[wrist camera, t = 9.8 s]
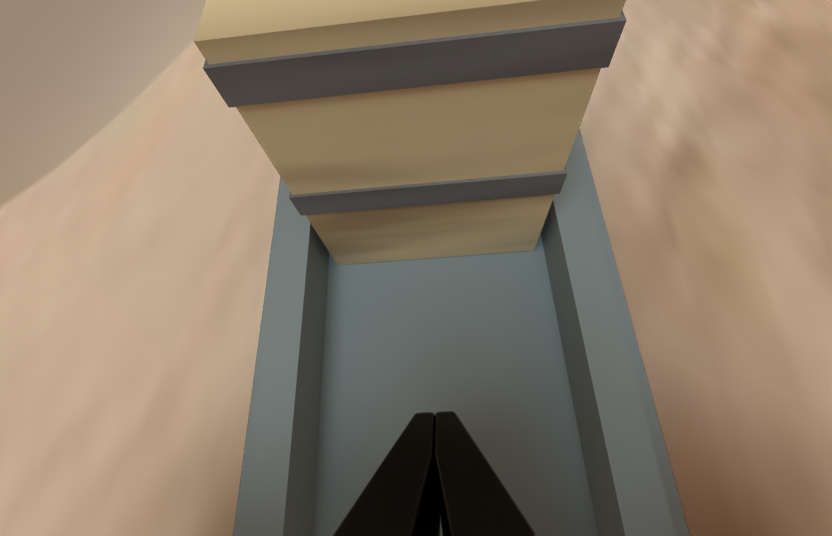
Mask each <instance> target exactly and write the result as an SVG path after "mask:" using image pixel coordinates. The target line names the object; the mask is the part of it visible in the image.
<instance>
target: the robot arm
mask: <svg viewBox="0 0 832 536" xmlns="http://www.w3.org/2000/svg"><path fill="white" fill-rule="evenodd" d="M440 518H441V528H442V536H536V534H535V532H534V530H533V529H532V527H531V526H530V524H529V523H528V521H527V520H526V518H525V517H524V515H523V514H522V512H521V511H520V509H519V508H518V506H517V505H516V503H515V502H514V500H513V499H512V497H511V496H510V494H509V493H508V491H507V490H506V488H505V487H504V485H503V484H502V482H501V481H500V479H499V478H498V476H497V474H496V473H495V471H494V470H493V468H492V467H491V465H490V464H489V462H488V461H487V459H486V458H485V456H484V455H483V453H482V452H481V450H480V449H479V447H478V446H477V444H476V443H475V441H474V440H473V438H472V437H471V435H470V434H469V432H468V431H467V429H466V428H465V426H464V425H463V423H462V422H461V420H460V419H459V417H458V416H457V414H456V413H455V412H454V411H441V412H437V413H436V414H434V413H433V412H419V413H416V414H414V416H413V417H412V419H411V420H410V422H409V423H408V425H407V426H406V428H405V429H404V430H403V432H402V433H401V435H400V436H399V438H398V439H397V441H396V442H395V444H394V445H393V447H392V448H391V450H390V451H389V453H388V454H387V456H386V457H385V459H384V460H383V462H382V463H381V465H380V466H379V467H378V469H377V470H376V472H375V473H374V475H373V476H372V478H371V479H370V481H369V482H368V484H367V485H366V487H365V488H364V490H363V491H362V493H361V494H360V496H359V497H358V498H357V500H356V501H355V503H354V504H353V506H352V507H351V509H350V510H349V512H348V513H347V515H346V516H345V518H344V519H343V521H342V522H341V524H340V525H339V527H338V528H337V530H336V531H335V532H334V534H333V535H332V536H440Z"/></svg>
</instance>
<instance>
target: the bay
mask: <svg viewBox="0 0 832 536" xmlns="http://www.w3.org/2000/svg"><path fill="white" fill-rule="evenodd" d="M566 169H567V176H566V179H565V181H564V184H563V186H562V189H561V192H560V194H555V195H554V198H553V200H552V203H551V206H550V208H549V211H548V214H547V217H546V219H545V222H544V225H543V228H542V230H541V233H540V236H539V238H538V241H537V244H536V247H535V249H534V251H521V252H507V253H494V254H480V255H467V256H454V257H440V258H427V259H414V260H400V261H387V262H373V263H360V264H347V265H337V263H336V262H335V260H334V259H333V257H332V256H331V254H330V252H329V251H328V249H327V248H326V246H325V245H324V243H323V242H322V240H321V238H320V237H319V235H318V234H317V232H316V231H315V229H314V228H313V226H312V224H311V223H310V221H309V220H308V218H307V217H306V215H303V216H301V215H300V214H299V212H298V211H297V209H296V208H295V206H294V205H293V203H292V202H291V200H290V199H289V193H290V190H289V189H288V187H287V185H286V184H285V182H284V181H283V179H282V178H281V176H280V184H279V191H278V199H277V206H276V214H275V222H274V229H273V237H272V244H271V252H270V259H269V267H268V274H267V282H266V290H265V297H264V305H263V312H262V320H261V327H260V335H259V343H258V350H257V358H256V365H255V373H254V380H253V388H252V395H251V403H250V411H249V418H248V426H247V433H246V441H245V448H244V456H243V463H242V471H241V479H240V486H239V494H238V501H237V509H236V516H235V524H234V532H233V536H332V535H333V534H334V532H335V531H336V530H337V528H338V527H339V525H340V524H341V522H342V521H343V519H344V518H345V516H346V515H347V513H348V512H349V510H350V509H351V507H352V506H353V504H354V503H355V501H356V500H357V498H358V497H359V496H360V494H361V493H362V491H363V490H364V488H365V487H366V485H367V484H368V482H369V481H370V479H371V478H372V476H373V475H374V473H375V472H376V470H377V469H378V467H379V466H380V465H381V463H382V462H383V460H384V459H385V457H386V456H387V454H388V453H389V451H390V450H391V448H392V447H393V445H394V444H395V442H396V441H397V439H398V438H399V436H400V435H401V433H402V432H403V430H404V429H405V428H406V426H407V425H408V423H409V422H410V420H411V419H412V417H413V416H414V414H416V413H419V412H433V413H434V414H436V413H437V412H441V411H454V412H455V413H456V414H457V416H458V417H459V419H460V420H461V422H462V423H463V425H464V426H465V428H466V429H467V431H468V432H469V434H470V435H471V437H472V438H473V440H474V441H475V443H476V444H477V446H478V447H479V449H480V450H481V452H482V453H483V455H484V456H485V458H486V459H487V461H488V462H489V464H490V465H491V467H492V468H493V470H494V471H495V473H496V474H497V476H498V478H499V479H500V481H501V482H502V484H503V485H504V487H505V488H506V490H507V491H508V493H509V494H510V496H511V497H512V499H513V500H514V502H515V503H516V505H517V506H518V508H519V509H520V511H521V512H522V514H523V515H524V517H525V518H526V520H527V521H528V523H529V524H530V526H531V527H532V529H533V530H534V532H535V534H536V536H690V534H689V530H688V526H687V523H686V519H685V515H684V512H683V508H682V504H681V501H680V497H679V493H678V490H677V486H676V482H675V479H674V475H673V471H672V468H671V464H670V460H669V457H668V453H667V449H666V446H665V442H664V438H663V435H662V431H661V427H660V424H659V420H658V416H657V412H656V409H655V405H654V401H653V398H652V394H651V390H650V387H649V383H648V379H647V376H646V372H645V368H644V365H643V361H642V357H641V354H640V350H639V346H638V343H637V339H636V335H635V332H634V328H633V324H632V321H631V317H630V313H629V310H628V306H627V302H626V299H625V295H624V291H623V287H622V284H621V280H620V276H619V273H618V269H617V265H616V262H615V258H614V254H613V251H612V247H611V243H610V240H609V236H608V232H607V229H606V225H605V221H604V218H603V214H602V210H601V207H600V203H599V199H598V196H597V192H596V188H595V185H594V181H593V177H592V174H591V170H590V166H589V162H588V159H587V155H586V151H585V148H584V144H583V140H582V137H581V133H580V129H578V132H577V135H576V138H575V140H574V143H573V146H572V148H571V151H570V154H569V157H568V159H567V162H566ZM440 536H442V528H441V518H440Z"/></svg>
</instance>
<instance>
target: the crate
mask: <svg viewBox="0 0 832 536" xmlns="http://www.w3.org/2000/svg"><path fill="white" fill-rule="evenodd" d="M625 1H626V0H206V3H205V6H204V10H203V13H202V17H201V20H200V24H199V27H198V30H197V33H196V37H195V40H194V42H195V44H196V45H197V47H198V48H199V50H200V51H201V53H202V55H203V56H204V58H205V59H206V60H205V64H204V67H203V69H204V71H205V72H206V74H207V75H208V77H209V78H210V80H211V81H212V83H213V84H214V86H215V87H216V89H217V90H218V92H219V93H220V95H221V96H222V98H223V99H224V101H225V102H226V104H227V105H228V107H236V108H237V109H238V111H239V112H240V114H241V115H242V117H243V118H244V120H245V122H246V123H247V125H248V126H249V128H250V129H251V131H252V132H253V134H254V136H255V137H256V139H257V140H258V142H259V143H260V145H261V147H262V148H263V150H264V151H265V153H266V154H267V156H268V157H269V159H270V161H271V162H272V164H273V165H274V167H275V168H276V170H277V171H278V173H279V175H280V176H281V178H282V179H283V181H284V182H285V184H286V185H287V187H288V189H289V190H290V193H289V199H290V200H291V202H292V203H293V205H294V206H295V208H296V209H297V211H298V212H299V214H300V215H301V216H303V215H306V217H307V218H308V220H309V221H310V223H311V224H312V226H313V228H314V229H315V231H316V232H317V234H318V235H319V237H320V238H321V240H322V242H323V243H324V245H325V246H326V248H327V249H328V251H329V252H330V254H331V256H332V257H333V259H334V260H335V262H336V263H337V265H347V264H360V263H373V262H387V261H400V260H414V259H427V258H440V257H454V256H467V255H480V254H494V253H507V252H521V251H534V249H535V247H536V244H537V241H538V238H539V236H540V233H541V230H542V228H543V225H544V222H545V219H546V217H547V214H548V211H549V208H550V206H551V203H552V200H553V198H554V195H555V194H560V192H561V189H562V186H563V184H564V181H565V179H566V176H567V169H566V162H567V159H568V157H569V154H570V151H571V148H572V146H573V143H574V140H575V138H576V135H577V132H578V129H579V127H580V124H581V121H582V118H583V116H584V113H585V110H586V107H587V105H588V102H589V99H590V97H591V94H592V91H593V88H594V86H595V83H596V80H597V77H598V75H599V72H600V69H601V68H605V67H609V64H610V62H611V59H612V56H613V54H614V51H615V49H616V46H617V43H618V41H619V38H620V36H621V33H622V30H623V28H624V25H625V23H626V18H625V16H624V13H623V10H622V9H623V7H624V4H625Z"/></svg>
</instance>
